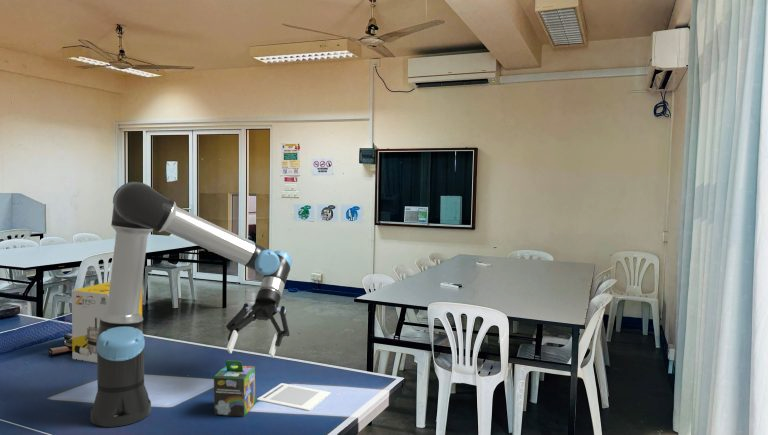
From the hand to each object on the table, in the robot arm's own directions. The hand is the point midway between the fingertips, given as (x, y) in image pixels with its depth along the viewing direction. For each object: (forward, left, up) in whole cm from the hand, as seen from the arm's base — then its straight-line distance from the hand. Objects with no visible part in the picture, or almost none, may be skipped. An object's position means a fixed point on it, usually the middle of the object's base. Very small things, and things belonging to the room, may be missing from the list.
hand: (249, 353), depth 161 cm
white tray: (+7, -12, -14) cm, 20 cm away
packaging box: (+11, +69, -14) cm, 72 cm away
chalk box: (-8, -1, -14) cm, 16 cm away
